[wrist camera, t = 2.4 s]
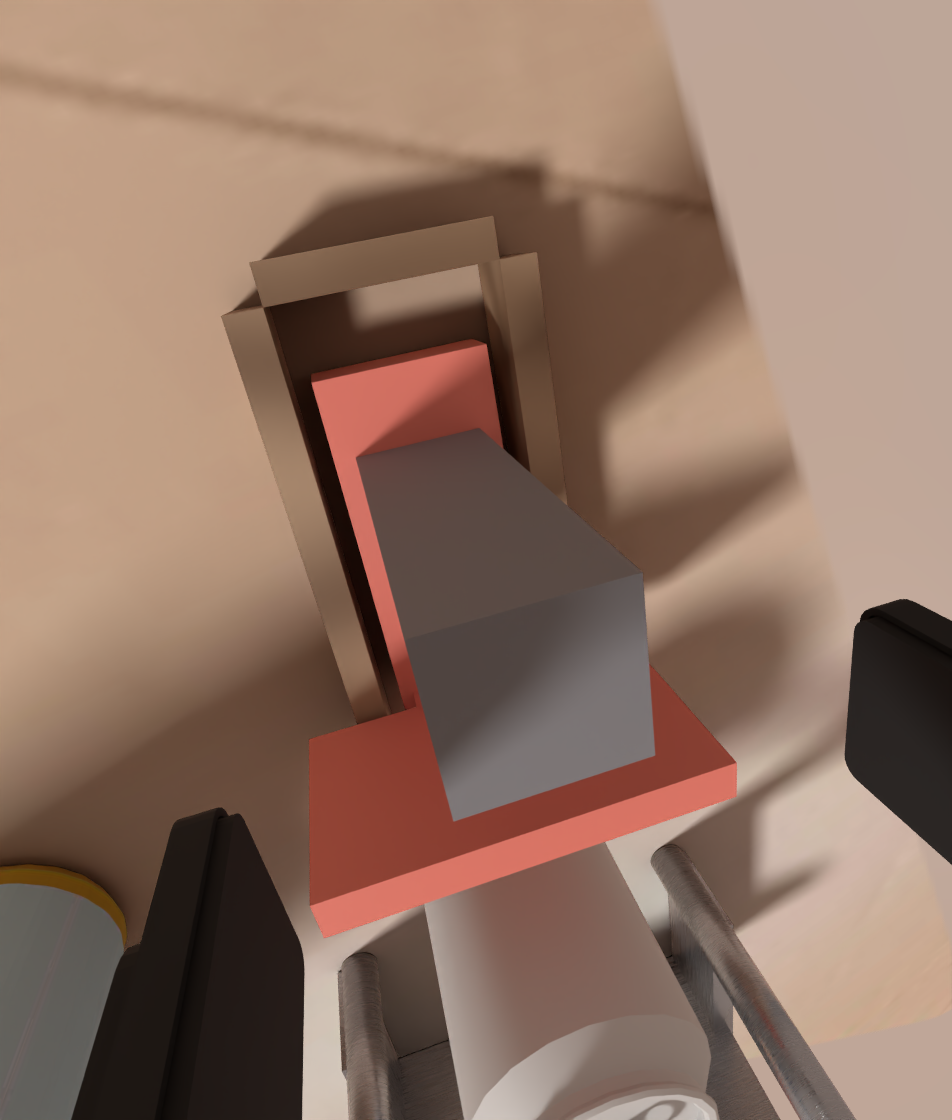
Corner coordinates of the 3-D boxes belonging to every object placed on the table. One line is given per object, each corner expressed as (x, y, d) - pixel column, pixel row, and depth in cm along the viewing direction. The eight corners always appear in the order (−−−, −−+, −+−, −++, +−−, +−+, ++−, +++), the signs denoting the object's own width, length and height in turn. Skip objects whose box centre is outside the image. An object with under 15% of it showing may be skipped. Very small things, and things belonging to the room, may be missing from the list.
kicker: (200, 398, 18) (51, 571, 7) (570, 316, 19) (877, 365, 9) (318, 719, 23) (328, 1089, 12) (603, 635, 24) (823, 902, 14)
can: (381, 816, 26) (433, 1198, 15) (544, 728, 26) (708, 1043, 15) (459, 915, 29) (546, 1282, 19) (602, 836, 29) (770, 1155, 19)
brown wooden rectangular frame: (218, 271, 17) (206, 271, 15) (505, 216, 18) (531, 208, 16) (368, 731, 24) (374, 776, 22) (568, 671, 25) (592, 708, 23)
